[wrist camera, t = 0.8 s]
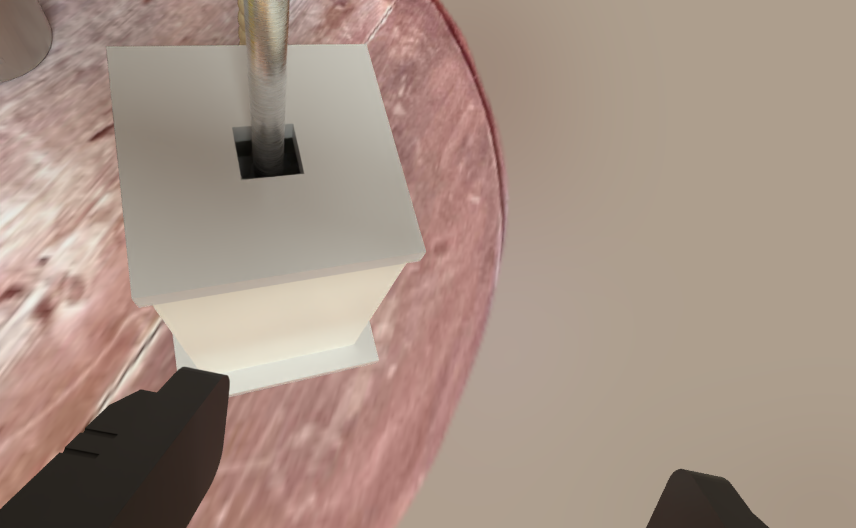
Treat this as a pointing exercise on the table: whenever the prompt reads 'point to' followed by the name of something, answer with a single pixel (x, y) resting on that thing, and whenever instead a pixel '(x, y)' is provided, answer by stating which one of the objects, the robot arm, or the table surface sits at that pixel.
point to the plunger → (267, 89)
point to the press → (260, 210)
